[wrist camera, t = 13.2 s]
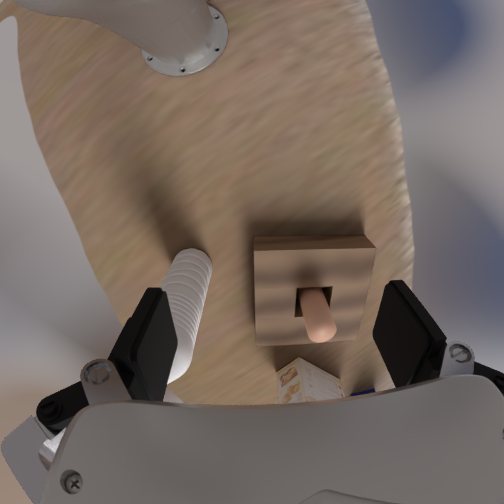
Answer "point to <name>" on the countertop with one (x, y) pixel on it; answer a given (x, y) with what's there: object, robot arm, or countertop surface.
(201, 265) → the water bottle
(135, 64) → the countertop surface
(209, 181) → the countertop surface
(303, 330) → the socket block
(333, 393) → the coffeecake box
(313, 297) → the peg
